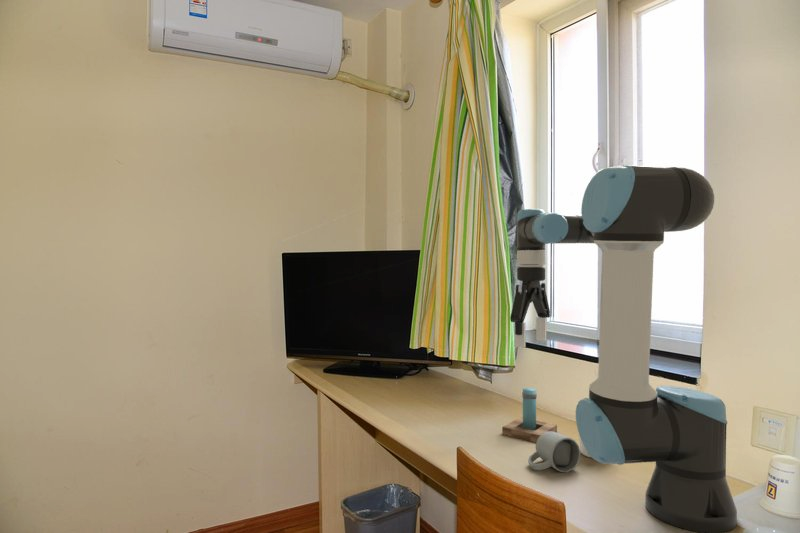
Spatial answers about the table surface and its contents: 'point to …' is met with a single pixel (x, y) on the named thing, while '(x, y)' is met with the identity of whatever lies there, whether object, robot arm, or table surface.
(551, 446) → the ceramic mug
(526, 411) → the banded teal cylinder
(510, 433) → the square hole plate
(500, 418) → the table surface
